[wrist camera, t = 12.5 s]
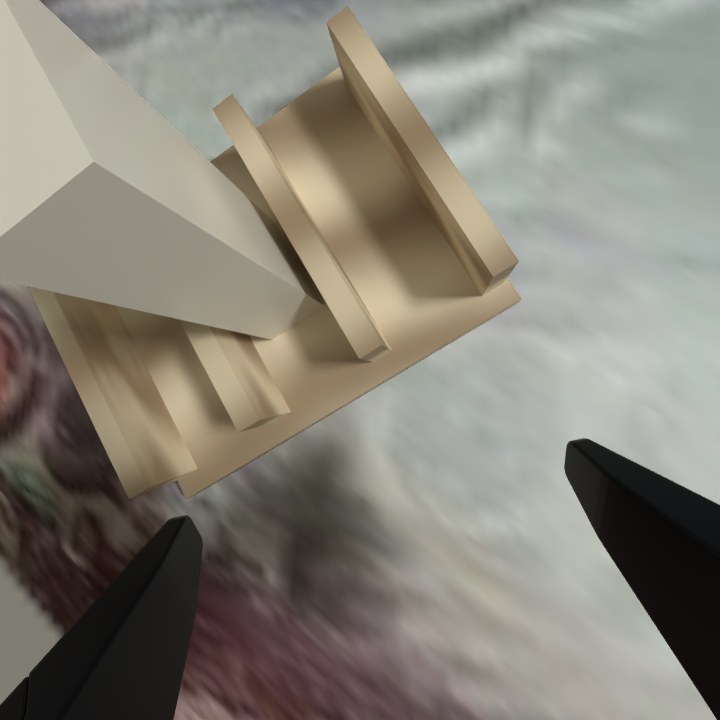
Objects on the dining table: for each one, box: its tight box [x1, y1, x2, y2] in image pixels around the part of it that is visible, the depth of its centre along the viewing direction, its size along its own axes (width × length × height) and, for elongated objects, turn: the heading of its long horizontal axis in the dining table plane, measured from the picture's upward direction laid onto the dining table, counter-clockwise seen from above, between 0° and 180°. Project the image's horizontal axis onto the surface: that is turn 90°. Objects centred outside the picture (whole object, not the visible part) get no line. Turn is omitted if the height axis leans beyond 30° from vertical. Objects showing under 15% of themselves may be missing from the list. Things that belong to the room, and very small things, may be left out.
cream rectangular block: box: [0, 0, 324, 340], centre depth 13 cm, size 5×3×13 cm, turn 32°
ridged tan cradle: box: [28, 6, 521, 499], centre depth 18 cm, size 14×18×4 cm
